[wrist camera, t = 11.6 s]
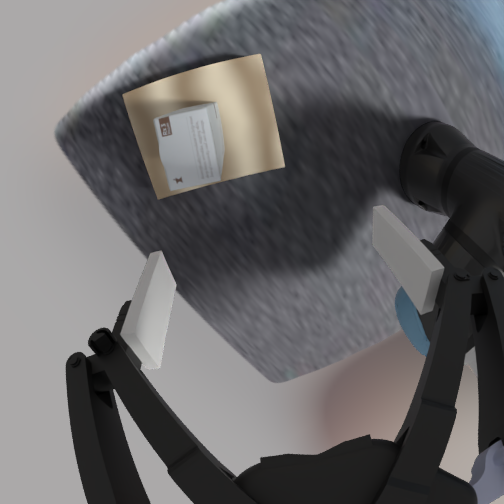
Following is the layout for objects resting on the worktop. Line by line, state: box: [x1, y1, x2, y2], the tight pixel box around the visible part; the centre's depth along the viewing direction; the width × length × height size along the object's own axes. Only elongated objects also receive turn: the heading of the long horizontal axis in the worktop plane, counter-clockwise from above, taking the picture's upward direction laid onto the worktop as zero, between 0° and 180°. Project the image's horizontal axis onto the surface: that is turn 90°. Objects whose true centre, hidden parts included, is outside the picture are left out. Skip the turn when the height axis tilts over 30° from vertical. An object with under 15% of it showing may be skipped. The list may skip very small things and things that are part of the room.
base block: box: [123, 54, 285, 200], centre depth 31 cm, size 16×14×4 cm
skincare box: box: [153, 102, 225, 191], centre depth 24 cm, size 6×4×12 cm
